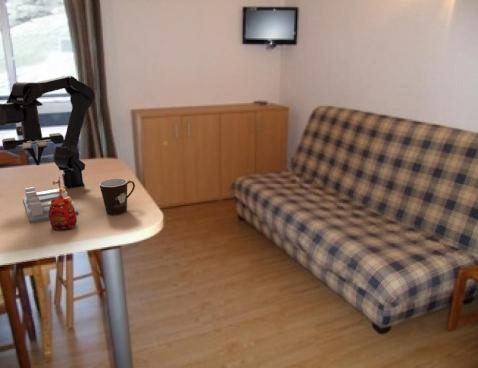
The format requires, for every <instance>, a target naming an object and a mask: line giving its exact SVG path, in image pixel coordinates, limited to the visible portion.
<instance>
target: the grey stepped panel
mask: <svg viewBox="0 0 478 368" xmlns="http://www.w3.org/2000/svg"><path fill="white" fill-rule="evenodd" d="M24 192H25V196H23V197H22V200H23V202H24V203H23V204H24V207H25V210H26V214H27V216H28V220H29V223H30V224H35V223H40V222H45V221H50V218H49V216H48V215H49V210H50V207H45V208H42V206H41V203H43V202H48V201H52V200H53V199H59V195H60V194H53V195H47V196H40V197H37V193H36V192H37V190H36V188H35V187H34V186H31V187H25V188H24ZM61 194H62V197H63V198H64V197H69V194H68V192H67V191H66V193H61ZM71 204H72V206H73V207H74V210H75V213H76V215H79V210H78V209H77V206H76V205H75V204H74V201H72V203H71Z"/></svg>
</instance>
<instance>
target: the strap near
mask: <svg viewBox="0 0 478 368" xmlns="http://www.w3.org/2000/svg"><path fill="white" fill-rule="evenodd" d="M68 196H69V195H68ZM64 199H68V200H69V202H70V203H72V202H73V199H72V198H71V196H69V197H64ZM41 206H42V208H45V207H50V206H51V201H48V202H43V203H41Z"/></svg>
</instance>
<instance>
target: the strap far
mask: <svg viewBox="0 0 478 368" xmlns="http://www.w3.org/2000/svg"><path fill="white" fill-rule="evenodd" d="M61 189H62V191H61V193H66V192H67V191H66V188H65V186H64V187H63V186H61ZM36 193H37V197H40V196H47V195H53V194H60V191H59V187H56V189H50V190H42V191H36Z"/></svg>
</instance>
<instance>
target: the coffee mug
mask: <svg viewBox="0 0 478 368" xmlns="http://www.w3.org/2000/svg"><path fill="white" fill-rule="evenodd" d="M128 184H132V189H131V191H130V192H129V193H128ZM135 187H136V184H135V182H134V181H132V180H129V181H128V179H125V178H121V177H120V178H119V177H118V178H116V177H115V178H108V179H105V180H102V181H100V182H99V188H100V192H101V196H102V200H103V204H104V208H105V212H106V214H107V215H109V216H120V215H124V214H125V213H127V212H128V198H129V197H130V196H131V195H132V193H133V192H134V190H135Z"/></svg>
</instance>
